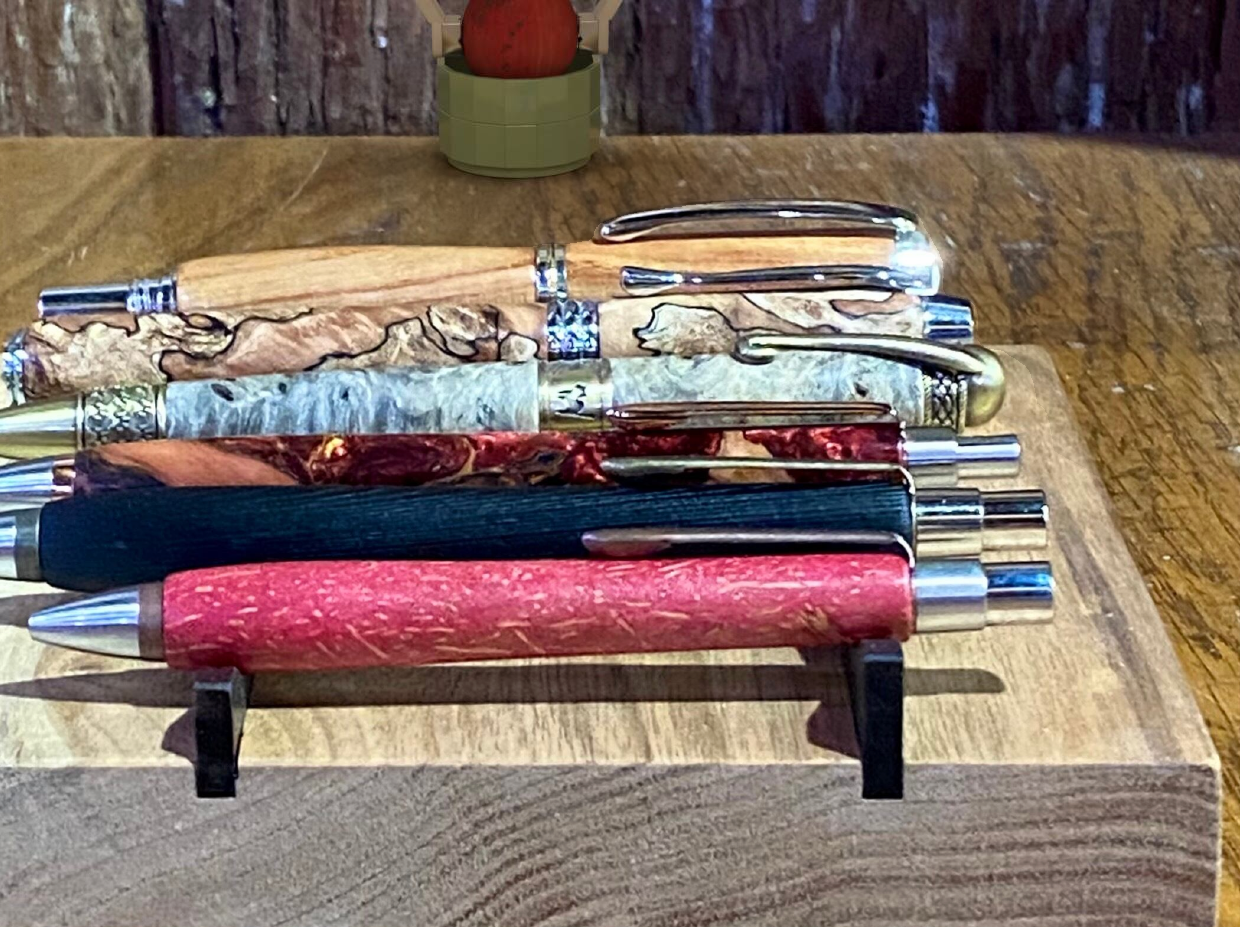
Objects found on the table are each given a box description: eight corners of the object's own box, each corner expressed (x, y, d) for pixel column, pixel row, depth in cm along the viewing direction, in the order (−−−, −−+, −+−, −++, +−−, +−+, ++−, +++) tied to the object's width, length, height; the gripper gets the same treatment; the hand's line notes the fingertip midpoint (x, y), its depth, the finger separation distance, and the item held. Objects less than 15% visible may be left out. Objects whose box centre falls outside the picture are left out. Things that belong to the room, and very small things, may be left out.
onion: (513, 130, 110) (511, -36, 107) (439, 108, 114) (435, -54, 111) (601, 108, 114) (602, -54, 110) (526, 87, 118) (524, -70, 114)
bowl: (594, 133, 119) (595, 38, 116) (603, 179, 112) (604, 79, 109) (440, 136, 119) (438, 41, 117) (439, 182, 112) (436, 82, 109)
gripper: (731, -252, 109) (721, 35, 115) (307, -244, 109) (321, 42, 116) (746, -234, 103) (734, 66, 110) (300, -226, 104) (314, 73, 110)
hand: (519, 54), depth 113 cm, fingers closed on onion, 6 cm apart
